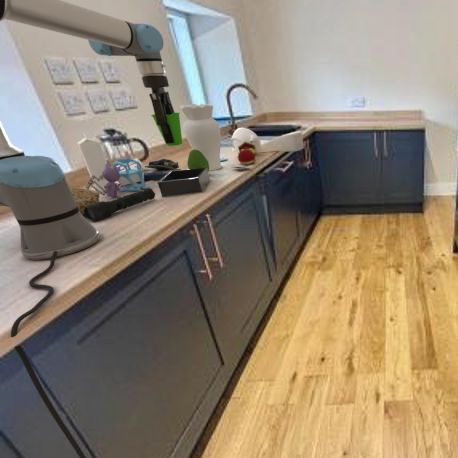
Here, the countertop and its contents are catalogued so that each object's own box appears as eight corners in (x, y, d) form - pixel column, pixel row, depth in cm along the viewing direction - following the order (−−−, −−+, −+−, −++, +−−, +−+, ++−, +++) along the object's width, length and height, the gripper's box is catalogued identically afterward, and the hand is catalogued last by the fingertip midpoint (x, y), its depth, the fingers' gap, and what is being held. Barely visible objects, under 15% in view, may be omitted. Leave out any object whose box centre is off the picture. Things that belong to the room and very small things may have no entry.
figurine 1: (98, 195, 127) (96, 163, 128) (113, 198, 134) (111, 168, 135) (114, 193, 127) (111, 161, 128) (128, 196, 134) (125, 166, 135)
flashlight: (86, 221, 110) (80, 206, 108) (148, 199, 128) (143, 186, 126) (97, 222, 109) (91, 207, 107) (158, 200, 126) (153, 187, 124)
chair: (134, 192, 136) (123, 161, 131) (118, 191, 138) (106, 161, 133) (151, 186, 143) (142, 157, 138) (135, 185, 145) (125, 156, 140)
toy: (232, 157, 186) (217, 161, 177) (232, 159, 186) (218, 163, 178) (212, 156, 190) (197, 160, 182) (212, 157, 191) (197, 162, 182)
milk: (99, 193, 137) (75, 136, 128) (95, 190, 141) (72, 134, 132) (117, 189, 141) (95, 133, 132) (114, 186, 145) (92, 132, 136)
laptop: (230, 169, 163) (230, 165, 162) (240, 169, 168) (240, 165, 167) (240, 171, 159) (239, 167, 159) (250, 171, 164) (250, 166, 164)
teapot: (251, 154, 204) (237, 166, 196) (231, 131, 196) (216, 143, 189) (274, 143, 188) (259, 156, 180) (253, 118, 180) (237, 130, 173)
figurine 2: (241, 160, 184) (239, 170, 171) (236, 141, 178) (233, 150, 166) (258, 157, 186) (257, 167, 173) (253, 139, 180) (252, 148, 168)
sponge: (68, 209, 124) (40, 216, 106) (66, 187, 123) (37, 190, 105) (114, 209, 130) (95, 216, 112) (113, 188, 128) (93, 191, 111)
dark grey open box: (202, 192, 134) (198, 177, 132) (162, 196, 130) (157, 182, 128) (210, 180, 149) (206, 167, 147) (174, 184, 146) (170, 170, 143)
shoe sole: (239, 153, 200) (235, 134, 196) (249, 148, 212) (246, 131, 207) (301, 151, 197) (298, 133, 193) (308, 147, 209) (305, 129, 205)
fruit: (198, 174, 159) (191, 147, 154) (215, 174, 158) (208, 147, 153) (187, 179, 152) (179, 151, 147) (204, 179, 151) (196, 151, 146)
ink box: (114, 177, 142) (115, 163, 149) (122, 187, 145) (122, 173, 153) (137, 170, 144) (137, 157, 152) (144, 180, 148) (144, 166, 155)
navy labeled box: (181, 168, 159) (166, 174, 150) (183, 175, 161) (168, 181, 152) (143, 168, 161) (126, 174, 152) (145, 174, 162) (128, 180, 153)
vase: (227, 170, 164) (211, 104, 152) (192, 174, 160) (173, 106, 148) (230, 163, 177) (216, 102, 165) (198, 166, 173) (181, 104, 161)
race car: (157, 165, 151) (155, 155, 151) (142, 167, 152) (141, 156, 152) (182, 169, 166) (181, 160, 166) (169, 171, 167) (168, 161, 167)
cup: (175, 147, 127) (166, 115, 123) (154, 146, 129) (144, 115, 125) (193, 142, 135) (185, 112, 131) (173, 142, 137) (164, 112, 133)
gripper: (156, 74, 114) (177, 145, 123) (173, 74, 132) (190, 135, 142) (130, 75, 112) (153, 147, 122) (151, 75, 131) (169, 137, 140)
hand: (173, 141), depth 132 cm, fingers closed on cup, 8 cm apart
